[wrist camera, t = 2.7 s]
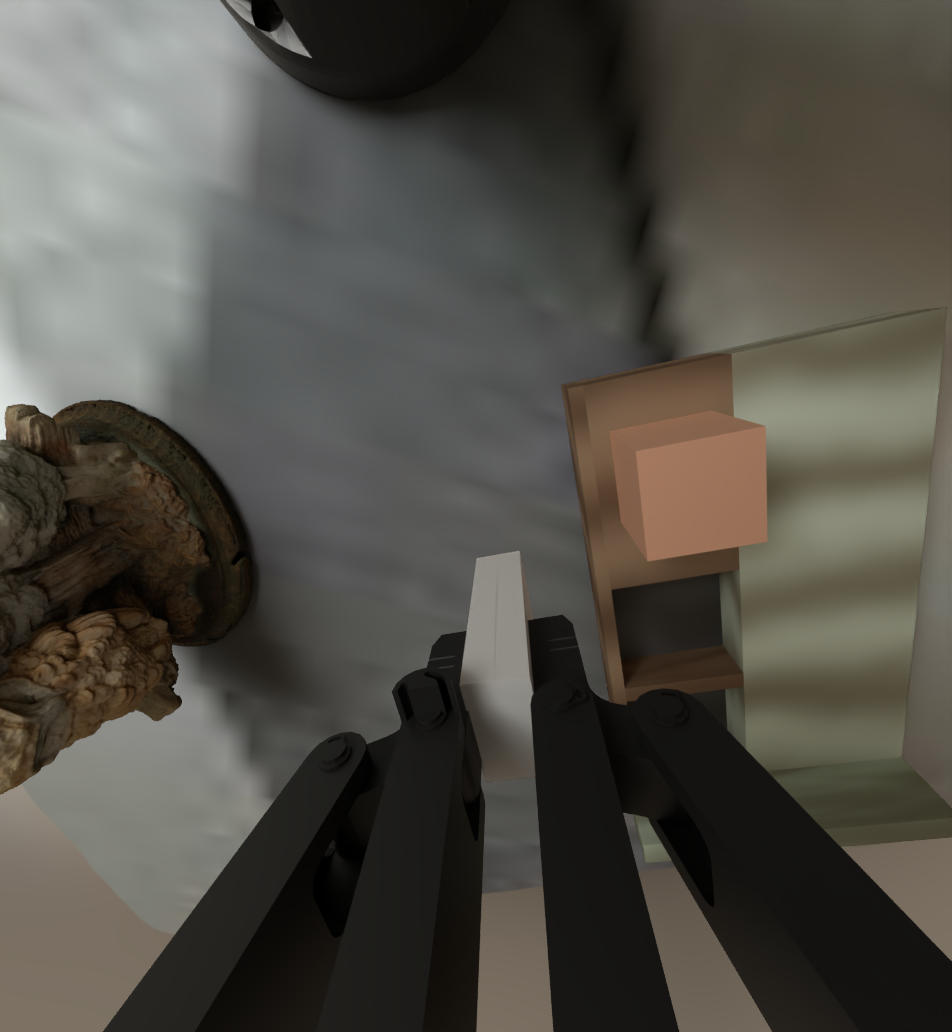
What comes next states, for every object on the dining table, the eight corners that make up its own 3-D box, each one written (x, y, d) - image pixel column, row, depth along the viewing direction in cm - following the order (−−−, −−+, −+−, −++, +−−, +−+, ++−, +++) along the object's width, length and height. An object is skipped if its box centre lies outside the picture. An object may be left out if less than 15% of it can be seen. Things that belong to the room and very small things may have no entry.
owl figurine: (301, 622, 32) (98, 893, 16) (163, 664, 34) (-138, 941, 18) (158, 367, 27) (-357, 397, 11) (4, 435, 29) (-618, 546, 13)
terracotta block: (609, 431, 24) (635, 451, 19) (712, 410, 23) (765, 426, 18) (620, 522, 25) (647, 561, 20) (717, 505, 24) (767, 541, 20)
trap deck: (561, 384, 26) (579, 396, 19) (894, 312, 24) (1044, 297, 17) (619, 765, 35) (645, 862, 28) (865, 738, 32) (957, 836, 26)
